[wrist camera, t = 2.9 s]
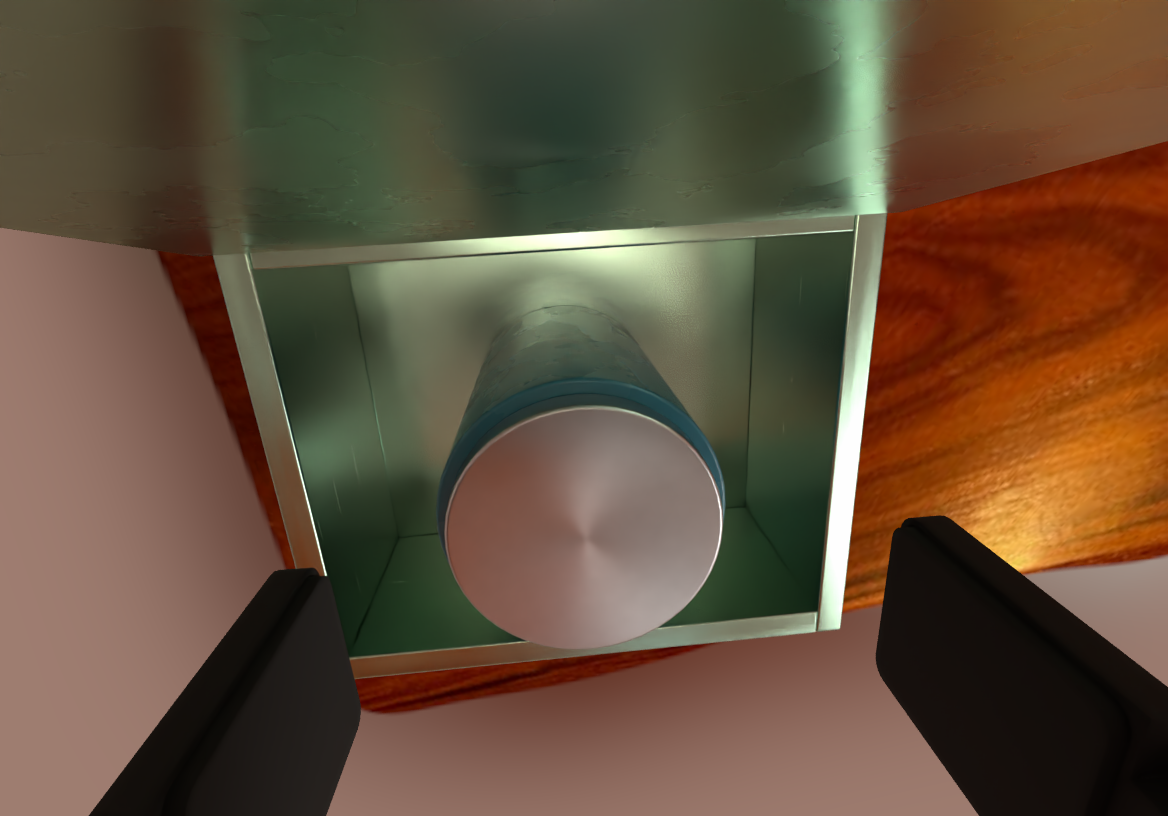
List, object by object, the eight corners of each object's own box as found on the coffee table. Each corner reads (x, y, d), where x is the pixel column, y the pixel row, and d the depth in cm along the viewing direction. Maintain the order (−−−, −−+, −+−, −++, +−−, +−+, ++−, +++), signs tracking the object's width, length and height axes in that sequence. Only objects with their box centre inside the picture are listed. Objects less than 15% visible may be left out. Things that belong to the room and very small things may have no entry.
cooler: (756, 511, 24) (841, 630, 18) (387, 544, 24) (324, 682, 17) (771, 198, 20) (891, 194, 13) (323, 226, 19) (205, 236, 13)
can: (488, 476, 22) (451, 675, 13) (467, 311, 20) (404, 403, 11) (652, 462, 22) (734, 646, 13) (649, 299, 20) (743, 378, 11)
